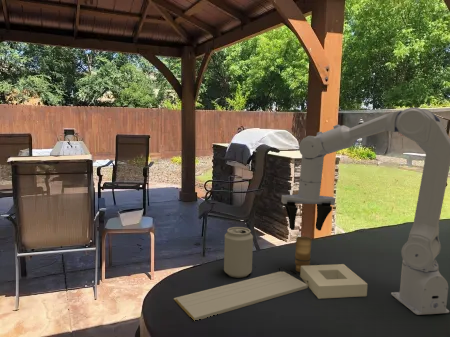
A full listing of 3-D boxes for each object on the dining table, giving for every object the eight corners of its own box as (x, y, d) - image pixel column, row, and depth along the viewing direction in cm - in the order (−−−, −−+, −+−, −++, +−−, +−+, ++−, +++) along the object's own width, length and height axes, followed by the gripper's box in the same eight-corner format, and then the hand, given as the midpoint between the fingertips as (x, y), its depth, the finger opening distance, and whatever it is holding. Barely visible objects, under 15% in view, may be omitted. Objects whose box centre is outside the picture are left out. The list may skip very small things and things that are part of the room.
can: (254, 278, 94) (256, 233, 93) (226, 279, 93) (227, 234, 91) (248, 266, 101) (249, 225, 100) (221, 267, 100) (222, 225, 99)
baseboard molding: (171, 299, 83) (194, 325, 73) (171, 287, 83) (194, 311, 73) (276, 272, 99) (308, 290, 89) (277, 262, 99) (308, 279, 89)
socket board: (366, 296, 86) (367, 284, 85) (318, 298, 84) (319, 286, 84) (342, 274, 97) (343, 264, 97) (300, 276, 96) (300, 265, 95)
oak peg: (312, 273, 98) (314, 241, 97) (297, 273, 98) (299, 241, 96) (306, 267, 102) (308, 236, 101) (292, 267, 102) (293, 236, 100)
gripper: (329, 178, 103) (324, 224, 105) (280, 176, 100) (275, 223, 103) (340, 184, 96) (334, 233, 98) (287, 182, 94) (283, 232, 96)
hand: (305, 229), depth 100 cm, fingers open, 7 cm apart
